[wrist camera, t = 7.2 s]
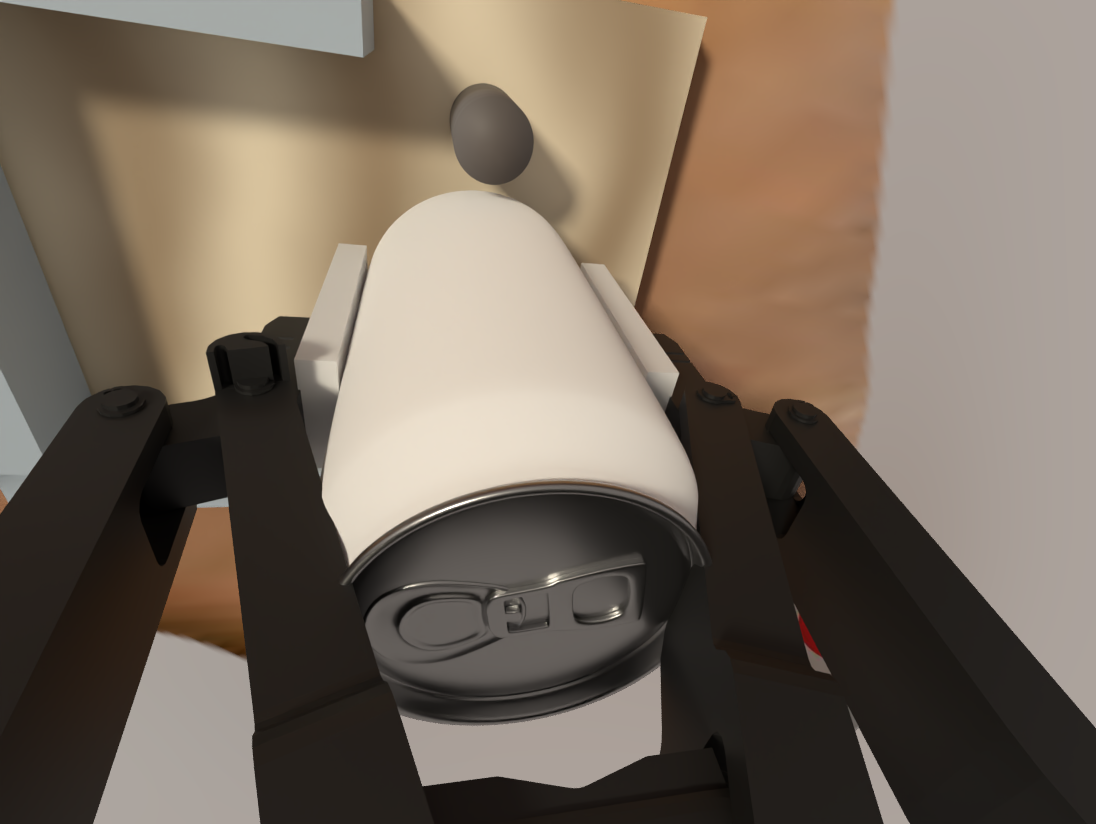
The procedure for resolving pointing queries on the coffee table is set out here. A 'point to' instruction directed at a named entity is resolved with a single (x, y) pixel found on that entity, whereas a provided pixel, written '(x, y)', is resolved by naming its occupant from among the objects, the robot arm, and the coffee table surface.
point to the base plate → (316, 156)
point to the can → (502, 474)
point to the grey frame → (10, 260)
